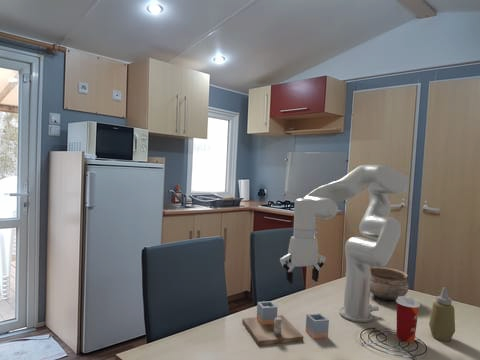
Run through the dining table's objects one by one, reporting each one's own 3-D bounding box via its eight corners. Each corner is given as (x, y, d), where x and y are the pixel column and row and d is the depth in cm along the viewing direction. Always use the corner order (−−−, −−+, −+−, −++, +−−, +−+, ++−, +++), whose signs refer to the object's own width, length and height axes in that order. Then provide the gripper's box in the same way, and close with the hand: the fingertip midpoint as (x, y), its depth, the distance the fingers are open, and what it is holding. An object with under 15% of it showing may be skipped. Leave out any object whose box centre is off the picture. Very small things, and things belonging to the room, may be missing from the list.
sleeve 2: (319, 329, 124) (320, 313, 124) (327, 337, 119) (328, 320, 119) (305, 331, 122) (306, 314, 122) (313, 338, 117) (314, 321, 117)
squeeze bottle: (454, 345, 118) (458, 293, 117) (427, 338, 122) (431, 288, 121) (454, 336, 125) (458, 287, 124) (429, 330, 129) (432, 282, 128)
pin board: (282, 318, 131) (283, 302, 131) (303, 340, 115) (304, 321, 115) (242, 322, 127) (243, 304, 126) (258, 345, 110) (259, 325, 110)
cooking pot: (351, 289, 170) (352, 265, 169) (382, 287, 175) (384, 264, 175) (387, 310, 146) (389, 281, 145) (422, 307, 152) (424, 279, 151)
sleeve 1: (270, 316, 129) (271, 301, 129) (276, 323, 124) (277, 307, 124) (256, 318, 127) (257, 302, 127) (261, 324, 122) (262, 308, 122)
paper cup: (420, 345, 116) (423, 304, 116) (396, 342, 118) (399, 301, 117) (413, 335, 124) (416, 296, 124) (391, 331, 126) (393, 294, 125)
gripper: (321, 230, 127) (319, 276, 128) (277, 231, 123) (275, 279, 124) (331, 235, 120) (329, 283, 121) (285, 236, 115) (283, 286, 116)
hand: (302, 281), depth 122 cm, fingers open, 9 cm apart
